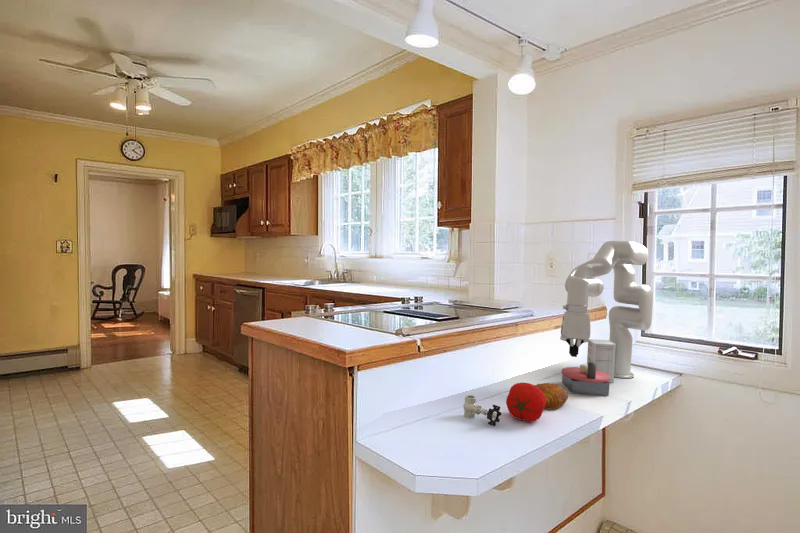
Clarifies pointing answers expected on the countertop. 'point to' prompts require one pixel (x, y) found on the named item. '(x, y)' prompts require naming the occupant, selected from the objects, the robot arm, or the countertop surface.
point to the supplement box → (602, 356)
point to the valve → (480, 410)
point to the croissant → (553, 395)
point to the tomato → (525, 401)
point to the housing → (585, 387)
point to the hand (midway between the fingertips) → (573, 356)
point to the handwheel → (586, 373)
